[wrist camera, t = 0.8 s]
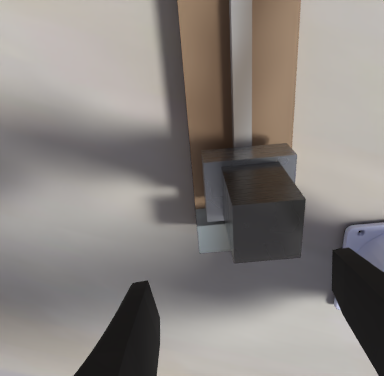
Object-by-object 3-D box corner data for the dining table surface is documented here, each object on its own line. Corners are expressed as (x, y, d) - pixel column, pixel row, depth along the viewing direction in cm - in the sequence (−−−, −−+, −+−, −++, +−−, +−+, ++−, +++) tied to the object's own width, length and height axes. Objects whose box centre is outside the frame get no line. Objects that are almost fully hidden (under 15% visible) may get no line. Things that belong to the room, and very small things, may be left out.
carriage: (286, 142, 19) (328, 190, 13) (283, 199, 20) (319, 261, 15) (201, 150, 19) (210, 201, 14) (204, 205, 20) (214, 270, 15)
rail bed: (302, -179, 14) (333, -228, 11) (282, 217, 23) (296, 245, 21) (162, -166, 14) (159, -212, 11) (196, 224, 23) (199, 253, 21)
